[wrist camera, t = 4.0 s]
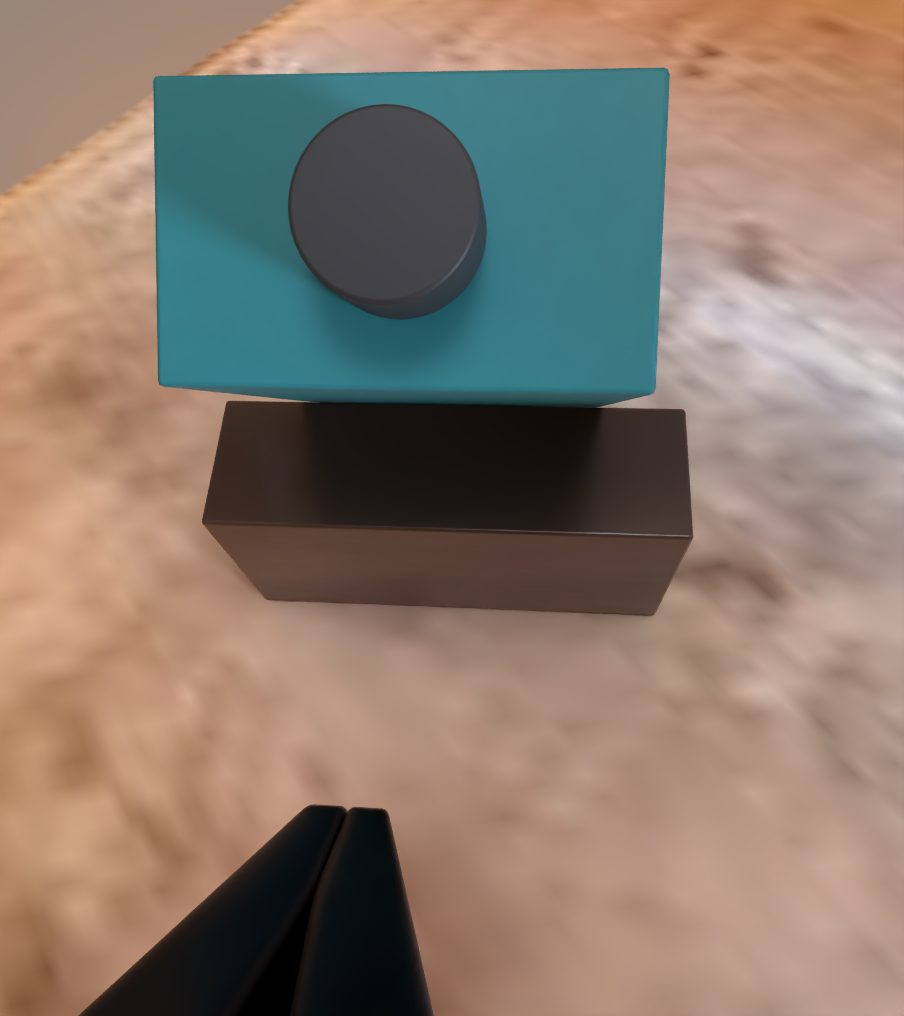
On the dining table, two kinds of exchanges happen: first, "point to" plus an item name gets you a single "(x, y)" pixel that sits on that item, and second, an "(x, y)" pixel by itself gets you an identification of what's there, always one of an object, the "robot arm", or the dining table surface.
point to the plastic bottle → (412, 235)
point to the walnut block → (454, 504)
